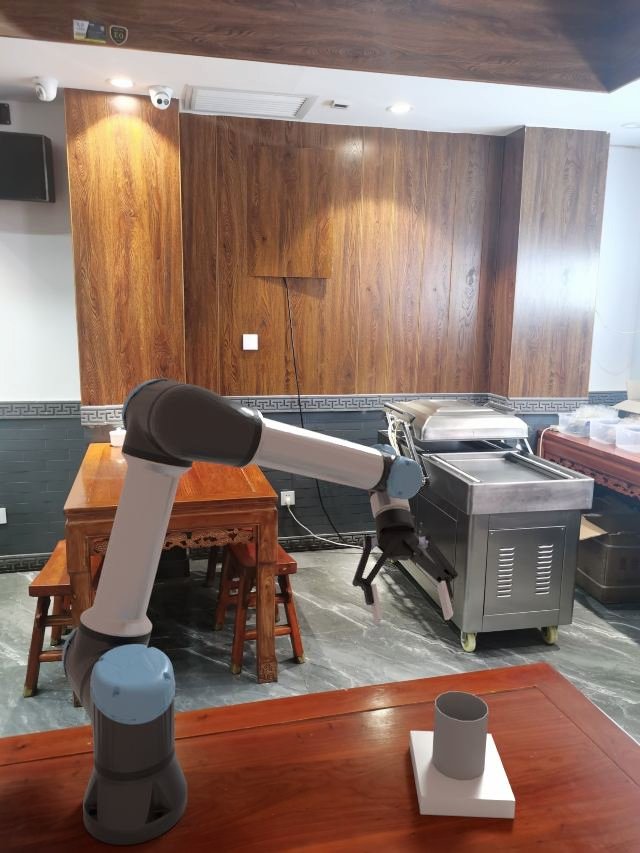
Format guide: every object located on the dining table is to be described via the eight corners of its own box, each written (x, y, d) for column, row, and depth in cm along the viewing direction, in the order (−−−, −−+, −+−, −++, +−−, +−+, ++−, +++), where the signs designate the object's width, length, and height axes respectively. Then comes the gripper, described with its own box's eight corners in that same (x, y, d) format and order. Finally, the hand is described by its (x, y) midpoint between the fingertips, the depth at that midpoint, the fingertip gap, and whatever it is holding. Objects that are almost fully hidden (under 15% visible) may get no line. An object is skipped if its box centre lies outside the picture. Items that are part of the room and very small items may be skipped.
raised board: (420, 814, 98) (421, 796, 97) (409, 746, 113) (410, 730, 113) (513, 818, 97) (515, 800, 97) (489, 749, 113) (490, 733, 112)
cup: (421, 759, 105) (424, 703, 104) (452, 739, 111) (455, 685, 109) (464, 788, 99) (467, 728, 98) (494, 765, 104) (498, 708, 103)
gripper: (444, 523, 135) (470, 622, 123) (328, 526, 129) (343, 630, 117) (456, 505, 129) (485, 608, 117) (335, 507, 124) (352, 615, 111)
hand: (414, 619), depth 117 cm, fingers open, 13 cm apart
